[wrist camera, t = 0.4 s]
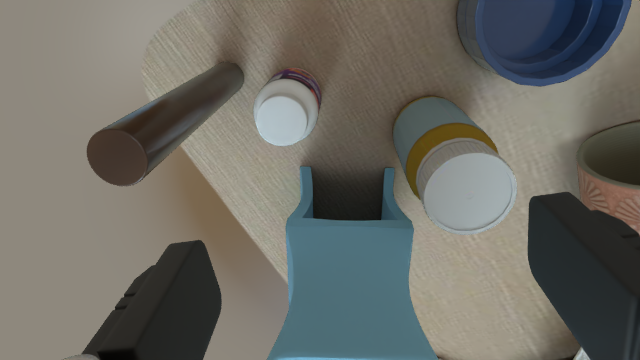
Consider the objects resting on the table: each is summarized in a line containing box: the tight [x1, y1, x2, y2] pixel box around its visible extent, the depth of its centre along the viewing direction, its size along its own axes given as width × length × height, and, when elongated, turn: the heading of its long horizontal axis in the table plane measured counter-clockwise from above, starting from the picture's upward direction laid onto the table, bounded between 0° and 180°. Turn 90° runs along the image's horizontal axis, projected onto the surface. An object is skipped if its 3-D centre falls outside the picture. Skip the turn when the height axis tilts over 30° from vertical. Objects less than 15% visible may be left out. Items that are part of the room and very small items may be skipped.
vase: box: [267, 166, 439, 360], centre depth 34 cm, size 10×10×25 cm
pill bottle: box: [253, 68, 321, 146], centre depth 36 cm, size 5×5×10 cm
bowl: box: [457, 0, 632, 86], centre depth 34 cm, size 11×11×6 cm
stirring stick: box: [87, 62, 244, 186], centre depth 30 cm, size 3×3×22 cm
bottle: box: [393, 96, 517, 235], centre depth 35 cm, size 7×7×15 cm
